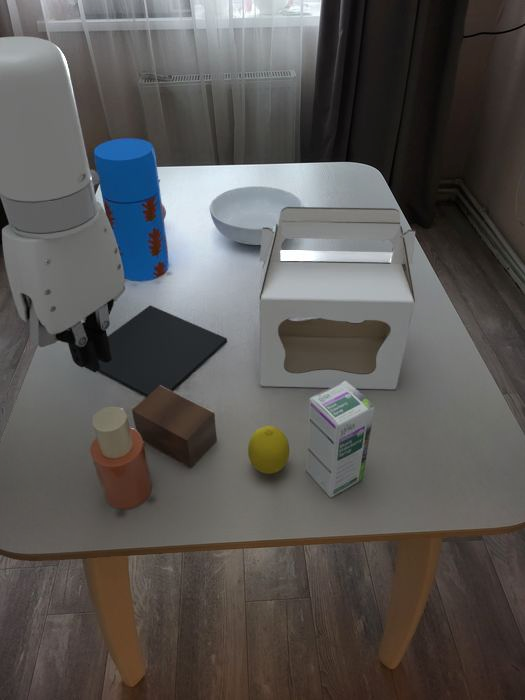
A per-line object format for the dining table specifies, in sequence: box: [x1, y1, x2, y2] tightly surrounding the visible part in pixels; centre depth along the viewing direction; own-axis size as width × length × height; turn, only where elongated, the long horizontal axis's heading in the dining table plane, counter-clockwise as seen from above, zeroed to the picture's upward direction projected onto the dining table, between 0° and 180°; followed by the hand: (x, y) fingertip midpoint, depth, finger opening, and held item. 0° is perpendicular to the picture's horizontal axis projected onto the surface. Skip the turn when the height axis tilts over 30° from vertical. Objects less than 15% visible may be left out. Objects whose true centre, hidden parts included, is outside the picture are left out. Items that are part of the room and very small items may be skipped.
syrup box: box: [305, 381, 375, 498], centre depth 72 cm, size 6×6×14 cm
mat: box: [97, 305, 228, 398], centre depth 96 cm, size 18×18×1 cm
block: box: [131, 385, 218, 469], centre depth 79 cm, size 10×6×6 cm, turn 57°
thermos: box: [93, 137, 170, 282], centre depth 108 cm, size 11×11×25 cm
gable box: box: [258, 206, 416, 390], centre depth 85 cm, size 22×13×28 cm, turn 88°
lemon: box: [247, 425, 290, 475], centre depth 75 cm, size 6×6×8 cm
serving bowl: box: [209, 185, 305, 246], centre depth 125 cm, size 21×21×7 cm
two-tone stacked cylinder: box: [89, 405, 153, 510], centre depth 70 cm, size 6×12×14 cm
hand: (93, 361), depth 60 cm, fingers closed
